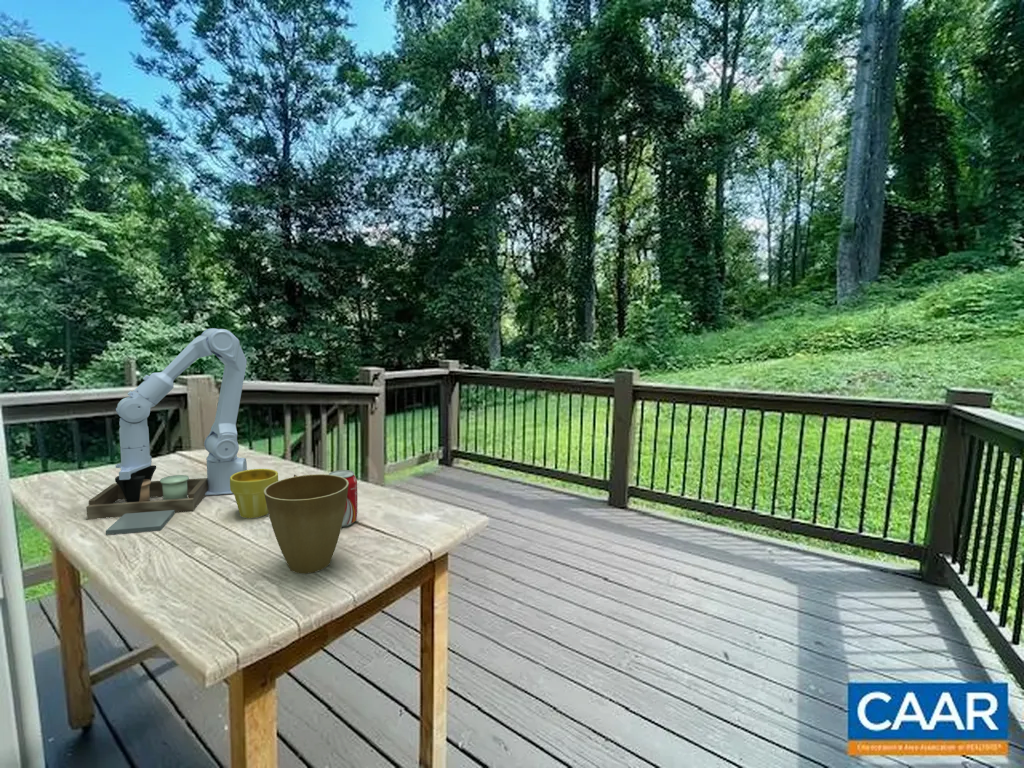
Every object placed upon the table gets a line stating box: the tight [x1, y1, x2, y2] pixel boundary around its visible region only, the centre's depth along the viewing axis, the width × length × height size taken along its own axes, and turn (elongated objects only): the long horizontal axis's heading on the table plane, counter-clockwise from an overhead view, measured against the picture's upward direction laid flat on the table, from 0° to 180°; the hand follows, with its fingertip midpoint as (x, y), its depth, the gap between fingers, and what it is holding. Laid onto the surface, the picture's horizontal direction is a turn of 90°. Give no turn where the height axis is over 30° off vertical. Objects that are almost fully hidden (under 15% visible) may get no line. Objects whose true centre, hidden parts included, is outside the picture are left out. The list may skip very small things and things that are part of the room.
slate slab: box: [105, 510, 176, 536], centre depth 114 cm, size 10×10×1 cm
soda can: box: [327, 469, 358, 528], centre depth 117 cm, size 7×7×12 cm
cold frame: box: [85, 477, 208, 520], centre depth 125 cm, size 21×14×4 cm
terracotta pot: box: [125, 479, 152, 503], centre depth 124 cm, size 6×6×6 cm
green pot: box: [159, 474, 190, 500], centre depth 127 cm, size 6×6×6 cm
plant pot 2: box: [264, 473, 349, 575], centre depth 96 cm, size 15×15×16 cm
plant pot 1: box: [230, 468, 279, 519], centre depth 122 cm, size 10×10×10 cm
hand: (138, 499), depth 124 cm, fingers closed on terracotta pot, 5 cm apart
